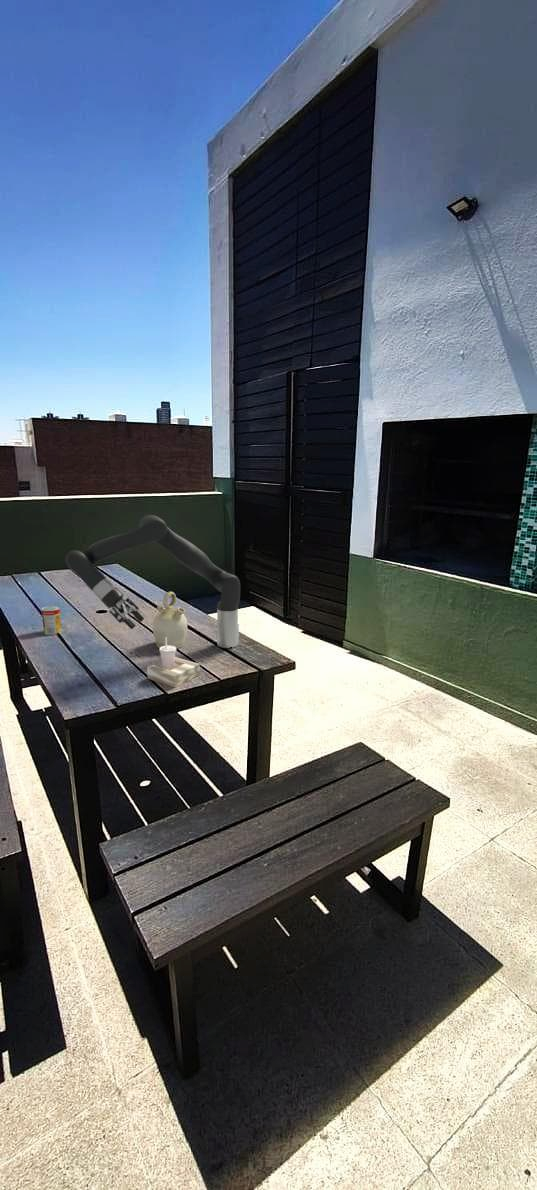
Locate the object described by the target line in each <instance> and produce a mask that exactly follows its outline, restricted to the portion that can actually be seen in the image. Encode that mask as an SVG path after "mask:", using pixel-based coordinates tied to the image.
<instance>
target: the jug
mask: <svg viewBox="0 0 537 1190" xmlns="http://www.w3.org/2000/svg"><path fill="white" fill-rule="evenodd" d="M176 595H177V594H175V592H174V591H167V592H166V593H164V595H163V597H162V605H160V604H157V606H156V607H157V609H156V610H157V611H158V612H157V613H156V615H155V616H154V618H153V621H152V625H151V626H152V632H153V637H154V641H155V644H156V645H155V646H156V647H157V648H158V649H160V647H162V646H166V642H165V637H167V645H171V646H175V647H176V650H177V649H180V648H182V647H183V646H184V645H185V641H186V637H187V632H188V620H187V618H186V616H185V613H186V611H185V608H183V607H181V606H177V609H175V605H176V602H177V596H176ZM170 597H171V600H170V603H168V602H169V598H170Z"/></svg>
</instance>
